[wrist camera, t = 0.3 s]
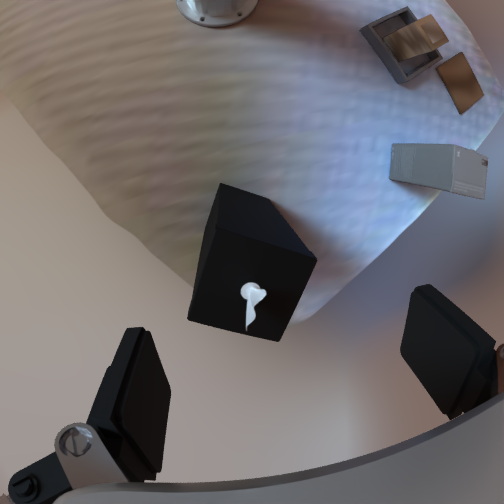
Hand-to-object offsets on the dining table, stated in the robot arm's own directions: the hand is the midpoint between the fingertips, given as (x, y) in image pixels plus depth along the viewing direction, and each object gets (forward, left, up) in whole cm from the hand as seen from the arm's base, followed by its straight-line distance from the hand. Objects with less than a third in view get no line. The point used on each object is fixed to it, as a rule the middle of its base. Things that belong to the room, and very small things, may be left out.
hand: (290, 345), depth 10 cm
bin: (-4, +38, -37) cm, 53 cm away
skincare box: (+14, +26, -37) cm, 47 cm away
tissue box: (+3, -3, -37) cm, 37 cm away
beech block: (-4, +38, -37) cm, 53 cm away
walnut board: (+8, +48, -37) cm, 61 cm away
